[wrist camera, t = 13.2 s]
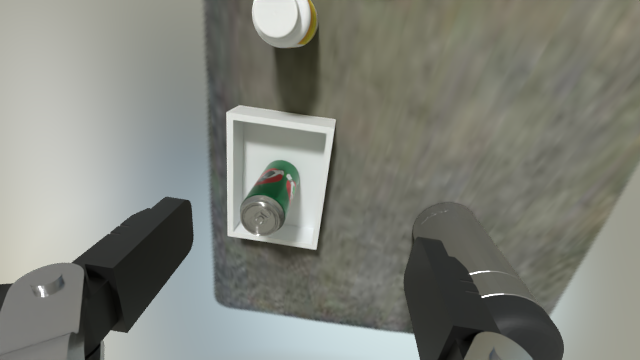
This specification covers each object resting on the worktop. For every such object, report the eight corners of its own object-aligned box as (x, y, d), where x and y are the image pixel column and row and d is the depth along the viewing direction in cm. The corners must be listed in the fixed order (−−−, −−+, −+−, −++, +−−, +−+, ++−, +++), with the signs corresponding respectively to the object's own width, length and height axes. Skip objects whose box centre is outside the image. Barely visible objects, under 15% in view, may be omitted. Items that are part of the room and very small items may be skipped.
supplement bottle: (311, -13, 33) (297, -36, 24) (323, 40, 35) (314, 38, 26) (265, 1, 34) (234, -15, 25) (279, 52, 36) (255, 55, 27)
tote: (336, 119, 39) (334, 128, 35) (319, 231, 46) (316, 249, 42) (239, 105, 39) (226, 112, 35) (238, 219, 47) (227, 235, 43)
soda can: (258, 176, 43) (227, 221, 32) (278, 151, 41) (252, 189, 30) (286, 197, 44) (266, 247, 33) (307, 173, 42) (292, 218, 31)
